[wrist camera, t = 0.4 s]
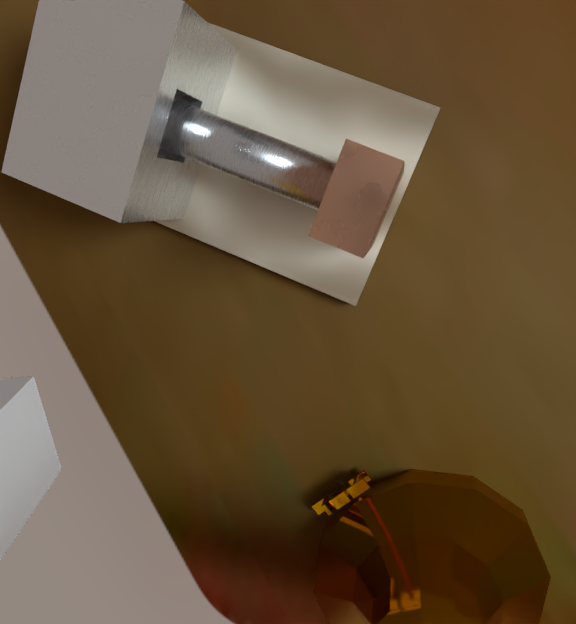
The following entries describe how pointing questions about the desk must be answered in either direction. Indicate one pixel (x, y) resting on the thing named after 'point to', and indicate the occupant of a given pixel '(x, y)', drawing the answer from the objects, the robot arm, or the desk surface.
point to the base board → (310, 136)
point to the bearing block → (114, 103)
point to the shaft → (295, 173)
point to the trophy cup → (427, 554)
